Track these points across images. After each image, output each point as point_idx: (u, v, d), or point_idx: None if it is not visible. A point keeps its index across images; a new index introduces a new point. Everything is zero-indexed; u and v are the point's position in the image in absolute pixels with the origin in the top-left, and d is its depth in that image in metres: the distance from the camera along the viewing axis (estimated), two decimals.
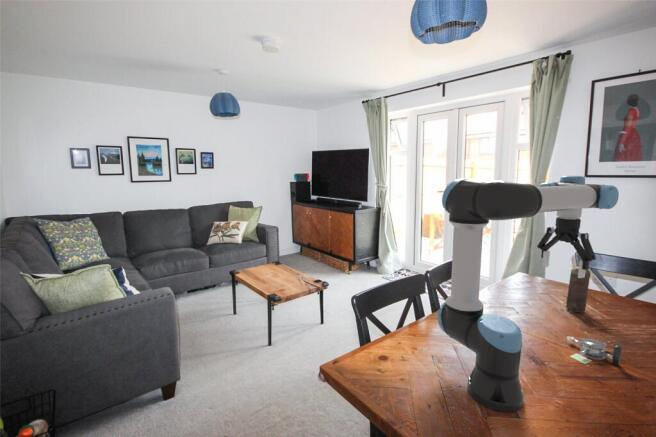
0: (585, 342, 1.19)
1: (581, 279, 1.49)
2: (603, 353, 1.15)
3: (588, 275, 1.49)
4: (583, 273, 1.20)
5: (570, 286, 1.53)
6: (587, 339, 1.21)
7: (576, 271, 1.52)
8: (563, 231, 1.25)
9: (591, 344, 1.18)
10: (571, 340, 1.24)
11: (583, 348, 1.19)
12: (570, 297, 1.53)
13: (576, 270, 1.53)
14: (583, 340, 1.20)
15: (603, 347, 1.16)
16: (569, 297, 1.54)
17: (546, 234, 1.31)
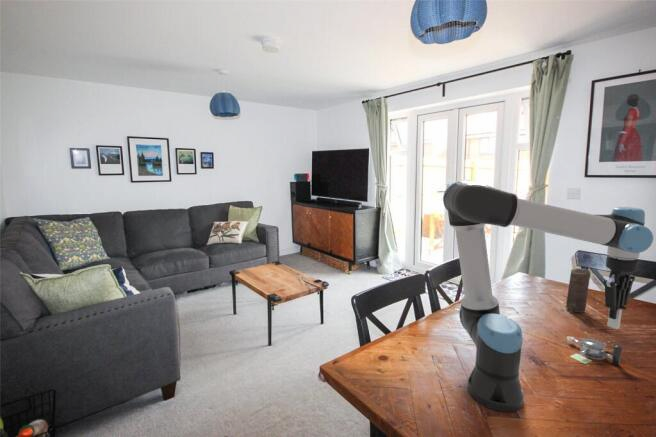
0: (585, 342, 1.19)
1: (581, 279, 1.49)
2: (603, 353, 1.15)
3: (588, 275, 1.49)
4: (613, 323, 1.06)
5: (570, 286, 1.53)
6: (587, 339, 1.21)
7: (576, 271, 1.52)
8: None
9: (591, 344, 1.18)
10: (571, 340, 1.24)
11: (583, 348, 1.19)
12: (570, 297, 1.53)
13: (576, 270, 1.53)
14: (583, 340, 1.20)
15: (603, 347, 1.16)
16: (569, 297, 1.54)
17: None
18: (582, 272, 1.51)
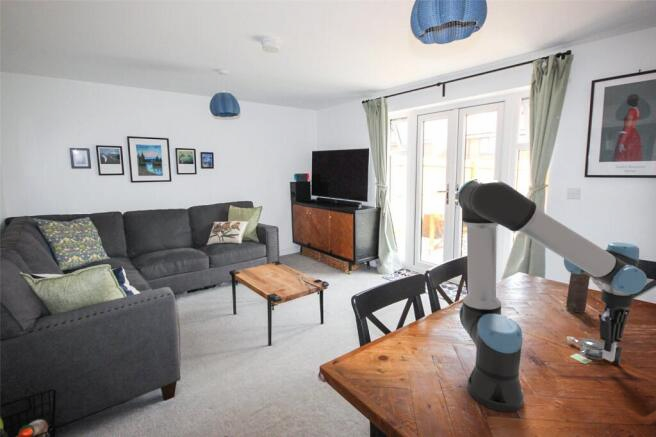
0: (585, 342, 1.19)
1: (581, 279, 1.49)
2: None
3: None
4: (608, 355, 1.08)
5: (570, 286, 1.53)
6: (587, 339, 1.21)
7: None
8: None
9: (591, 344, 1.18)
10: (571, 340, 1.24)
11: (583, 348, 1.19)
12: (570, 297, 1.53)
13: None
14: (583, 340, 1.20)
15: None
16: (569, 297, 1.54)
17: None
18: None
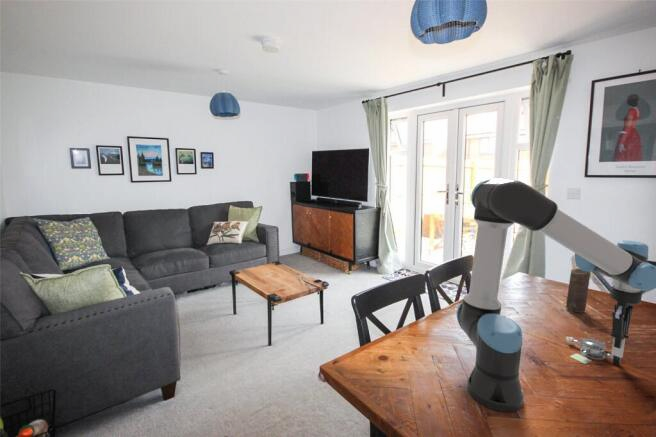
0: (585, 342, 1.19)
1: (581, 279, 1.49)
2: (603, 353, 1.15)
3: (588, 275, 1.49)
4: (618, 352, 1.10)
5: (570, 286, 1.53)
6: (586, 339, 1.21)
7: (576, 271, 1.52)
8: None
9: (591, 344, 1.18)
10: (570, 340, 1.24)
11: (583, 348, 1.19)
12: (570, 297, 1.53)
13: (576, 270, 1.53)
14: (583, 340, 1.20)
15: (603, 347, 1.16)
16: (569, 297, 1.54)
17: None
18: (582, 272, 1.51)
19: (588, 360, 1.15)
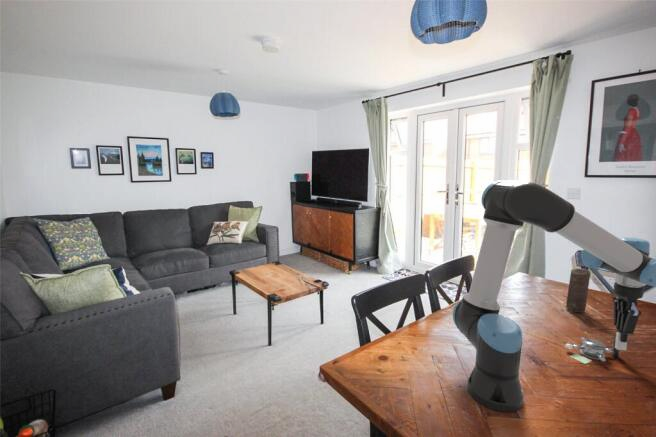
0: (591, 345, 1.17)
1: (581, 279, 1.49)
2: (605, 350, 1.17)
3: (588, 275, 1.49)
4: (623, 345, 1.14)
5: (570, 286, 1.53)
6: (583, 340, 1.20)
7: (576, 271, 1.52)
8: None
9: (596, 345, 1.17)
10: (572, 347, 1.20)
11: (590, 352, 1.17)
12: (570, 297, 1.53)
13: (576, 270, 1.53)
14: (586, 344, 1.18)
15: (603, 344, 1.18)
16: (569, 297, 1.54)
17: (614, 305, 1.18)
18: (582, 272, 1.51)
19: (588, 360, 1.15)
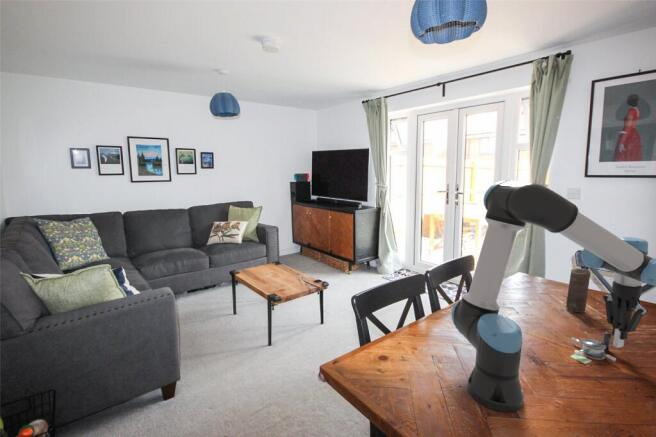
0: (596, 347, 1.16)
1: (581, 279, 1.49)
2: None
3: (588, 275, 1.49)
4: (621, 343, 1.16)
5: (570, 286, 1.53)
6: (585, 343, 1.18)
7: (576, 271, 1.52)
8: None
9: (598, 345, 1.17)
10: None
11: (596, 353, 1.16)
12: (570, 297, 1.53)
13: (576, 270, 1.53)
14: (592, 346, 1.16)
15: (599, 341, 1.19)
16: (569, 297, 1.54)
17: (606, 304, 1.19)
18: (582, 272, 1.51)
19: (588, 360, 1.15)
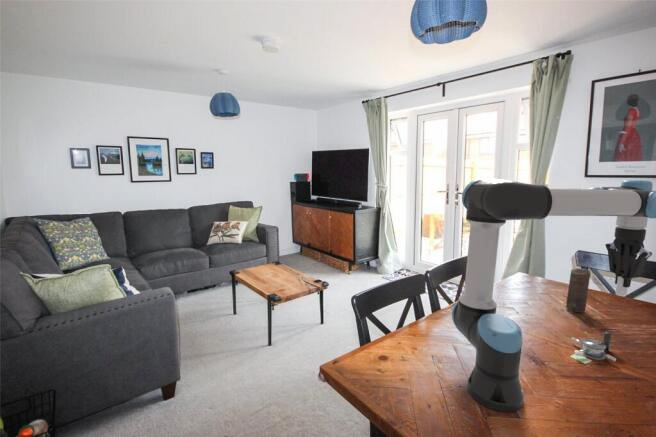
0: (596, 347, 1.16)
1: (581, 279, 1.49)
2: None
3: (588, 275, 1.49)
4: (624, 291, 1.12)
5: (570, 286, 1.53)
6: (585, 343, 1.18)
7: (576, 271, 1.52)
8: None
9: (598, 345, 1.17)
10: None
11: (596, 353, 1.16)
12: (570, 297, 1.53)
13: (576, 270, 1.53)
14: (592, 346, 1.16)
15: (599, 341, 1.19)
16: (569, 297, 1.54)
17: (609, 252, 1.15)
18: (582, 272, 1.51)
19: (588, 360, 1.15)
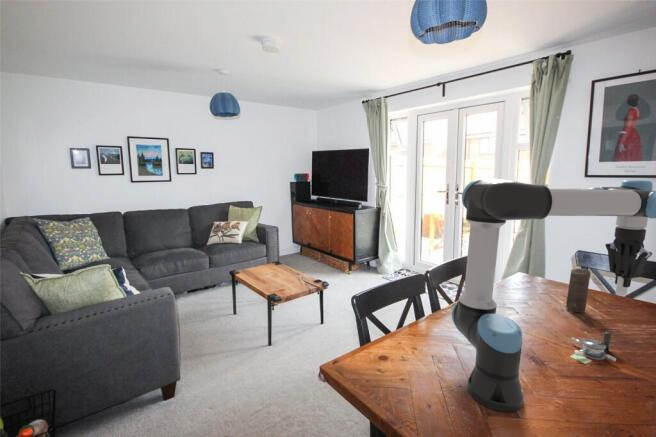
0: (596, 347, 1.16)
1: (581, 279, 1.49)
2: None
3: (588, 275, 1.49)
4: (624, 291, 1.12)
5: (570, 286, 1.53)
6: (585, 343, 1.18)
7: (576, 271, 1.52)
8: None
9: (598, 345, 1.17)
10: None
11: (596, 353, 1.16)
12: (570, 297, 1.53)
13: (576, 270, 1.53)
14: (592, 346, 1.16)
15: (599, 341, 1.19)
16: (569, 297, 1.54)
17: (609, 252, 1.15)
18: (582, 272, 1.51)
19: (588, 360, 1.15)
